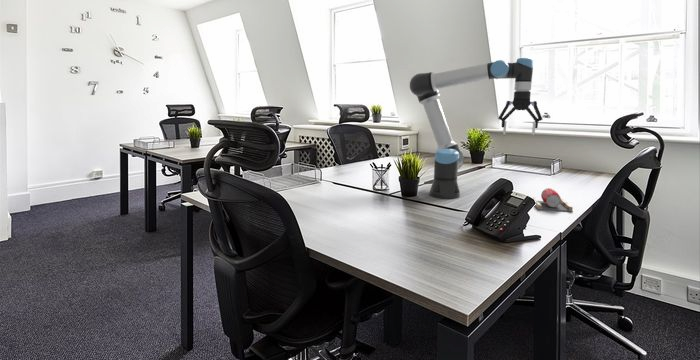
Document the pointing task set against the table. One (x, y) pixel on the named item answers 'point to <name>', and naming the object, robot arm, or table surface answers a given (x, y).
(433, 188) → the robot arm
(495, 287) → the table surface
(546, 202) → the soda can
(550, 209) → the mat
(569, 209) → the guide rails
